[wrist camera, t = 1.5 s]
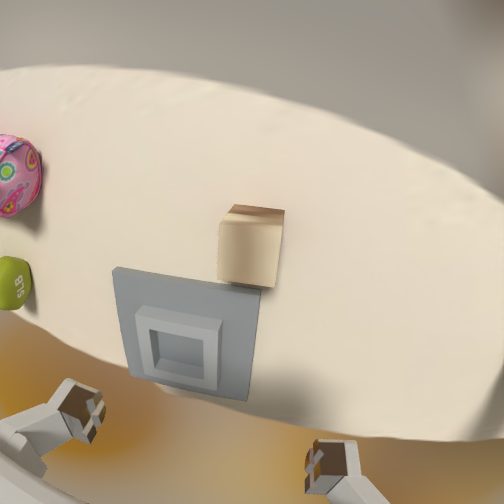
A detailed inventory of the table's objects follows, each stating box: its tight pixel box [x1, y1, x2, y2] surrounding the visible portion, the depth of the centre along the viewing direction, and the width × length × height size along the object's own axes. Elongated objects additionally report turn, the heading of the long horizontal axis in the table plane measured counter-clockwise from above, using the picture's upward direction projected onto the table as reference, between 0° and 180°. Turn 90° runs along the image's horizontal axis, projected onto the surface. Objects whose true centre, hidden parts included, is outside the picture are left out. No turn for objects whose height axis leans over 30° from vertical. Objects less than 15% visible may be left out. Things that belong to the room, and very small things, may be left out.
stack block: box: [217, 204, 285, 288], centre depth 26 cm, size 4×4×6 cm
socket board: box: [112, 267, 261, 401], centre depth 33 cm, size 16×16×3 cm
